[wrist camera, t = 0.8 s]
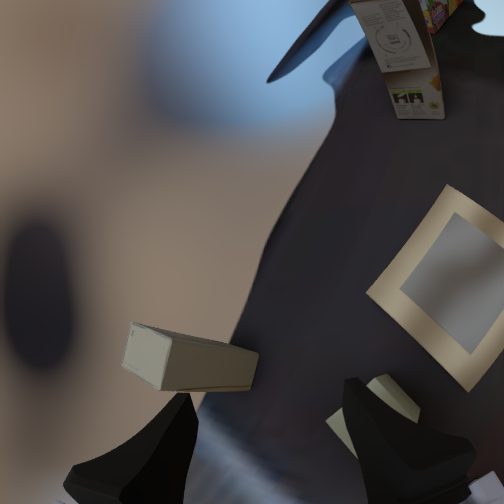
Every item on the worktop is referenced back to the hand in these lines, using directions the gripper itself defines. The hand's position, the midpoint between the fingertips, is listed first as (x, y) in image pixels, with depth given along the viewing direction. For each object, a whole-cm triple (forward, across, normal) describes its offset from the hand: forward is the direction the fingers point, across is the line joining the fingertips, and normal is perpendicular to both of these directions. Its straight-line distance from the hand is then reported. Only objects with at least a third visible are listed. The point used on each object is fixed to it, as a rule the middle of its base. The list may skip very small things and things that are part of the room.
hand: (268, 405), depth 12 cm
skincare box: (+17, +4, +9) cm, 19 cm away
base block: (+8, -17, 0) cm, 19 cm away
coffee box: (+21, -22, -20) cm, 37 cm away
